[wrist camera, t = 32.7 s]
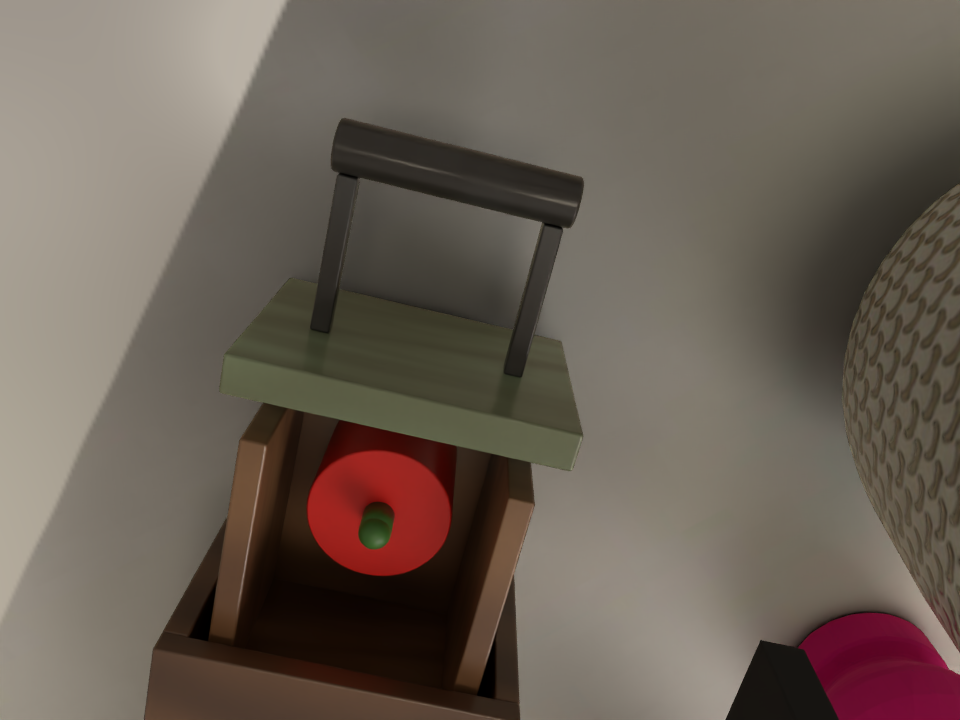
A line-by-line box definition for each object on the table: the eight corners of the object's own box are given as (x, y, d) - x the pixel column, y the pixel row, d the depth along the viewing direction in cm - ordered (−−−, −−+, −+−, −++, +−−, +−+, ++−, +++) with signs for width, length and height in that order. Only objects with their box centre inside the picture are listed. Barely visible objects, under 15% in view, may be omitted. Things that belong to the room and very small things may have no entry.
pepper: (343, 380, 30) (309, 458, 24) (470, 409, 30) (465, 492, 24) (321, 492, 31) (284, 588, 26) (441, 518, 32) (430, 619, 26)
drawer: (319, 95, 27) (257, 113, 20) (612, 168, 28) (655, 212, 21) (240, 569, 34) (171, 714, 26) (480, 619, 34) (477, 774, 27)
